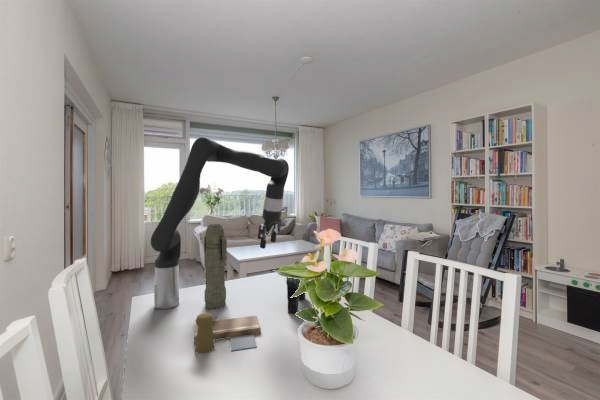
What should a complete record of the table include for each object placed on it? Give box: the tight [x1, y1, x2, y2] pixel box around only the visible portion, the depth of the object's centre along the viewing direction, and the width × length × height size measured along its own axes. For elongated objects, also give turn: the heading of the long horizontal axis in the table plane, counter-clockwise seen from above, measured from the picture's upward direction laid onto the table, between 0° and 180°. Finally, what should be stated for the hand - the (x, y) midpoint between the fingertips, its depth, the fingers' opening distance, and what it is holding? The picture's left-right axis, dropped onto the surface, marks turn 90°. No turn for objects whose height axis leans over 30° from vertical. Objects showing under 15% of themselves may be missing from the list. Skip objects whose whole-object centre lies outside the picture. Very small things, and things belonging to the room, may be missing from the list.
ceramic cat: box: [286, 261, 306, 315], centre depth 125 cm, size 20×6×20 cm, turn 165°
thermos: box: [203, 223, 228, 310], centre depth 125 cm, size 9×12×35 cm
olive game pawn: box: [194, 312, 216, 355], centre depth 92 cm, size 6×6×11 cm
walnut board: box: [193, 315, 262, 343], centre depth 104 cm, size 22×10×2 cm, turn 107°
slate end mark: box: [229, 334, 258, 352], centre depth 96 cm, size 8×8×1 cm
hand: (267, 244), depth 122 cm, fingers open, 8 cm apart
